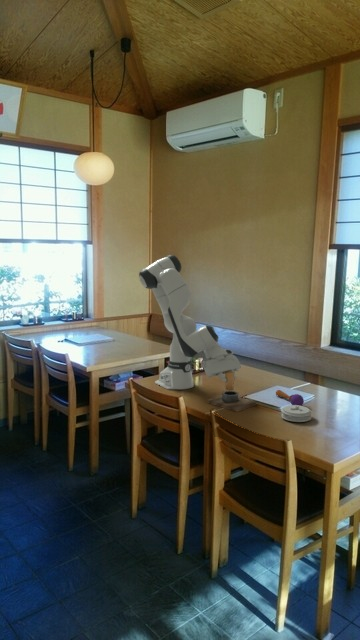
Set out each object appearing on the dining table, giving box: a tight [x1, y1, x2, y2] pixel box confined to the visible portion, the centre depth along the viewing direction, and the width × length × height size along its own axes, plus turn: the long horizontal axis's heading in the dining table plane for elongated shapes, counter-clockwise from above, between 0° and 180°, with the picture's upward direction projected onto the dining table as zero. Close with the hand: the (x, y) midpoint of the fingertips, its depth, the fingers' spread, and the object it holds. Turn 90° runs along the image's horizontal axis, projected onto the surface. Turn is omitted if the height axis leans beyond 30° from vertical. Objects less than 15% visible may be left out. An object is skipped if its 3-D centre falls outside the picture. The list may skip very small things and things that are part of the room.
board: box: [207, 395, 257, 413], centre depth 219 cm, size 18×14×2 cm
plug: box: [224, 372, 235, 391], centre depth 218 cm, size 4×4×8 cm
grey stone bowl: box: [221, 390, 240, 403], centre depth 219 cm, size 8×8×4 cm
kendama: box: [275, 389, 305, 406], centre depth 221 cm, size 6×6×20 cm
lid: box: [280, 404, 312, 423], centre depth 199 cm, size 13×13×5 cm
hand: (230, 380), depth 217 cm, fingers closed on plug, 4 cm apart
